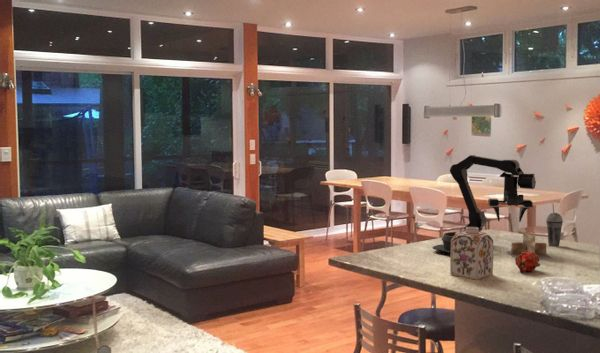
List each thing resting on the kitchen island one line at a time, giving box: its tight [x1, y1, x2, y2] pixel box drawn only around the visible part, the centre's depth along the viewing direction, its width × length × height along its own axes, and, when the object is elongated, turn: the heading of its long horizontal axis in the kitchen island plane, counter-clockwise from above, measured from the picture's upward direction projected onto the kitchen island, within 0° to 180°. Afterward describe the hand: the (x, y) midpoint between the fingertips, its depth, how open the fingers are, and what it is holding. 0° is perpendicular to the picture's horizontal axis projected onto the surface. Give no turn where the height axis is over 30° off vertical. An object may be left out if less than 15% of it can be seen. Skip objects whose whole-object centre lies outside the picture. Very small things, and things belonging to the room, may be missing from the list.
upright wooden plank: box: [522, 231, 536, 252], centre depth 268 cm, size 2×12×9 cm, turn 174°
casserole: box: [432, 231, 458, 255], centre depth 274 cm, size 25×19×8 cm
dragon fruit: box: [514, 250, 541, 273], centre depth 239 cm, size 8×8×12 cm
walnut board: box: [510, 241, 547, 255], centre depth 268 cm, size 14×2×5 cm, turn 84°
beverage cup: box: [545, 203, 564, 248], centre depth 289 cm, size 7×7×20 cm
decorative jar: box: [449, 226, 494, 281], centre depth 233 cm, size 12×12×18 cm
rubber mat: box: [506, 250, 553, 259], centre depth 268 cm, size 16×13×1 cm
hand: (509, 221), depth 285 cm, fingers open, 9 cm apart
